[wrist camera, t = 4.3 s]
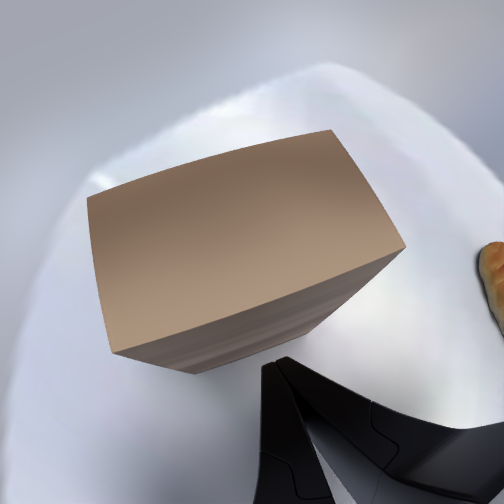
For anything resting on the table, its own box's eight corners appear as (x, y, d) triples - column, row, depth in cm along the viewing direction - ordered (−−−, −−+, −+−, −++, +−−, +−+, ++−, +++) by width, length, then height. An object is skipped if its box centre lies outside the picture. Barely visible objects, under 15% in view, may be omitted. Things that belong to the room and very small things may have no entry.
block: (307, 333, 18) (406, 246, 7) (194, 374, 16) (111, 353, 6) (281, 274, 19) (330, 129, 8) (173, 311, 18) (86, 197, 7)
